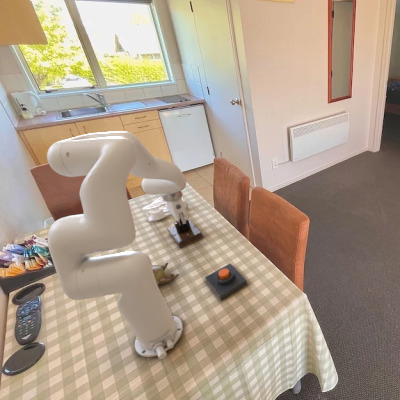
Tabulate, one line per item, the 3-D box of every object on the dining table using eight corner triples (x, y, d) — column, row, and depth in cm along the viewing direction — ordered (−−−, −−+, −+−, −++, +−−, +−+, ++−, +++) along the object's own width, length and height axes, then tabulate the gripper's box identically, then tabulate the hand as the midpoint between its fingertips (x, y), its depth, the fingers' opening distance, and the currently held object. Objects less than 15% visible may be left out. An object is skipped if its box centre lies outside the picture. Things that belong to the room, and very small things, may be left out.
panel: (203, 237, 120) (201, 232, 118) (180, 248, 114) (178, 242, 112) (191, 224, 128) (189, 219, 127) (169, 233, 122) (167, 228, 121)
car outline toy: (152, 225, 128) (146, 212, 124) (144, 216, 135) (139, 204, 131) (192, 208, 141) (188, 196, 137) (183, 201, 147) (179, 190, 143)
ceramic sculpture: (117, 271, 90) (163, 250, 100) (125, 289, 94) (168, 267, 105) (128, 287, 84) (176, 263, 95) (137, 306, 88) (181, 280, 99)
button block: (247, 284, 96) (245, 276, 94) (221, 300, 90) (218, 292, 88) (231, 267, 103) (229, 259, 101) (206, 281, 97) (203, 273, 95)
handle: (189, 226, 122) (186, 217, 119) (191, 228, 120) (187, 219, 118) (177, 232, 118) (173, 222, 116) (178, 233, 117) (175, 224, 114)
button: (231, 275, 95) (230, 272, 94) (222, 281, 93) (221, 277, 92) (226, 270, 97) (226, 267, 96) (217, 275, 95) (216, 272, 94)
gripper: (187, 198, 107) (199, 234, 117) (174, 185, 117) (186, 219, 126) (168, 204, 103) (181, 241, 112) (156, 191, 113) (169, 226, 122)
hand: (184, 229), depth 119 cm, fingers closed
